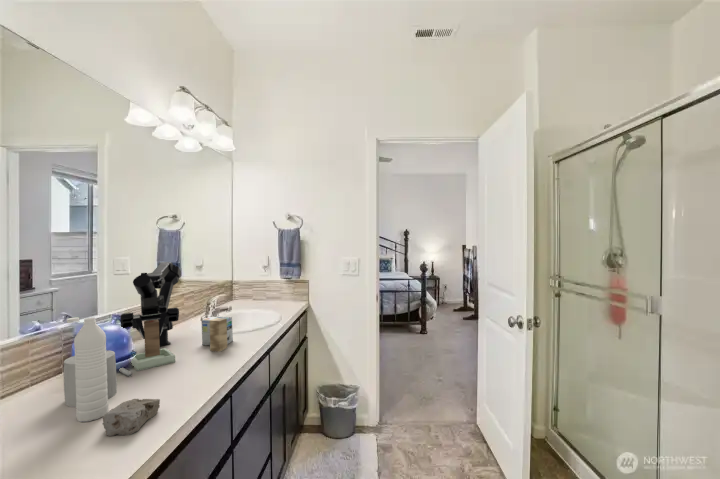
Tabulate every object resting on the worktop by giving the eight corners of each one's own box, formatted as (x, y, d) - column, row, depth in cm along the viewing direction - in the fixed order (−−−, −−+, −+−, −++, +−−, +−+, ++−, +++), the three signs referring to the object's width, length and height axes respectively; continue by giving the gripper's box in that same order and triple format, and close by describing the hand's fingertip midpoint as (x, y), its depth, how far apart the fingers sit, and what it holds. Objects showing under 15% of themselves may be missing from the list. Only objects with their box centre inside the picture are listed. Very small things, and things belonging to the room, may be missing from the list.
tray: (129, 362, 131) (129, 355, 131) (165, 354, 140) (165, 347, 140) (137, 370, 123) (136, 363, 123) (175, 361, 131) (175, 355, 131)
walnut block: (144, 353, 132) (143, 320, 132) (159, 351, 134) (158, 318, 134) (145, 357, 128) (144, 323, 128) (159, 354, 131) (158, 321, 130)
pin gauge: (117, 371, 122) (117, 367, 122) (122, 370, 123) (122, 366, 123) (127, 377, 117) (127, 372, 117) (132, 375, 118) (132, 371, 118)
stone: (164, 406, 96) (122, 413, 94) (162, 386, 95) (119, 392, 93) (146, 439, 83) (97, 447, 81) (143, 415, 82) (94, 423, 80)
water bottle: (114, 409, 95) (111, 314, 95) (96, 422, 89) (92, 320, 88) (81, 409, 95) (78, 315, 95) (60, 422, 89) (57, 321, 88)
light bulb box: (233, 340, 156) (232, 316, 156) (226, 345, 149) (225, 319, 149) (209, 340, 157) (209, 316, 157) (201, 345, 150) (200, 319, 150)
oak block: (210, 350, 143) (209, 320, 143) (218, 347, 147) (217, 317, 147) (219, 351, 142) (219, 321, 142) (227, 348, 146) (226, 318, 146)
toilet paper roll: (125, 393, 105) (124, 353, 105) (77, 411, 95) (76, 367, 95) (103, 385, 111) (101, 348, 111) (55, 401, 100) (54, 360, 100)
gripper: (119, 291, 129) (120, 329, 120) (177, 286, 139) (182, 320, 130) (120, 309, 136) (121, 346, 127) (176, 303, 146) (180, 337, 137)
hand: (152, 337), depth 130 cm, fingers closed on walnut block, 4 cm apart
